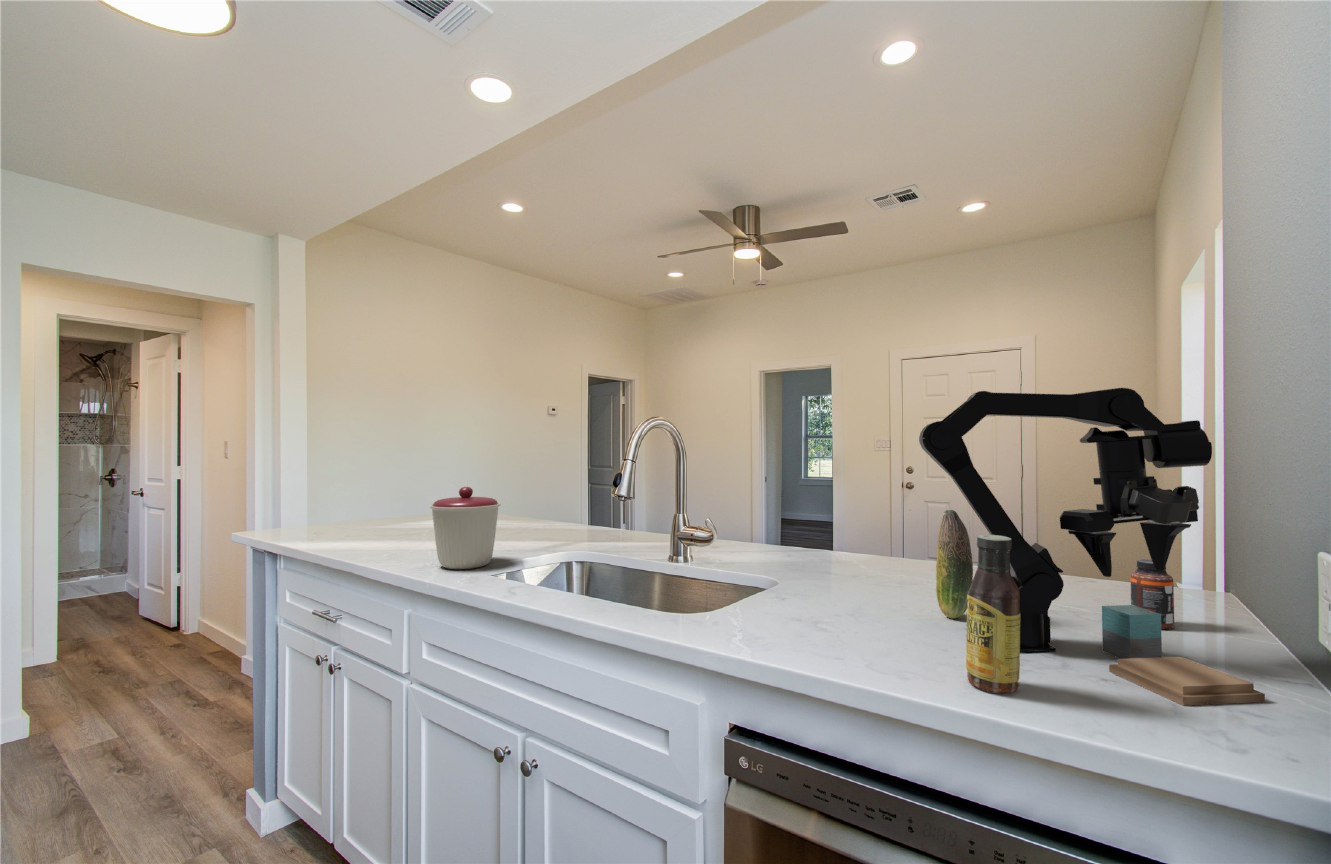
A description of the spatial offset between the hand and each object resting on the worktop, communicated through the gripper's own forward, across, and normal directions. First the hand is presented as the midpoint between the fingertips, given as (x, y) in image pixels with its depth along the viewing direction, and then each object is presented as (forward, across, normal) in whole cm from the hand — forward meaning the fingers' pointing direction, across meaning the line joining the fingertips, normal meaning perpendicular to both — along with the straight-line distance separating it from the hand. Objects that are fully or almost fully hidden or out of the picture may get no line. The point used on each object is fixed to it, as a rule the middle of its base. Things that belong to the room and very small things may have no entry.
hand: (1133, 573), depth 91 cm
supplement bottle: (+13, +16, +13) cm, 25 cm away
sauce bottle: (+11, -30, -7) cm, 33 cm away
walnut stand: (+12, -5, -10) cm, 17 cm away
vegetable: (+11, -15, +23) cm, 30 cm away
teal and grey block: (+12, -2, 0) cm, 13 cm away
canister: (+2, -114, +87) cm, 143 cm away
